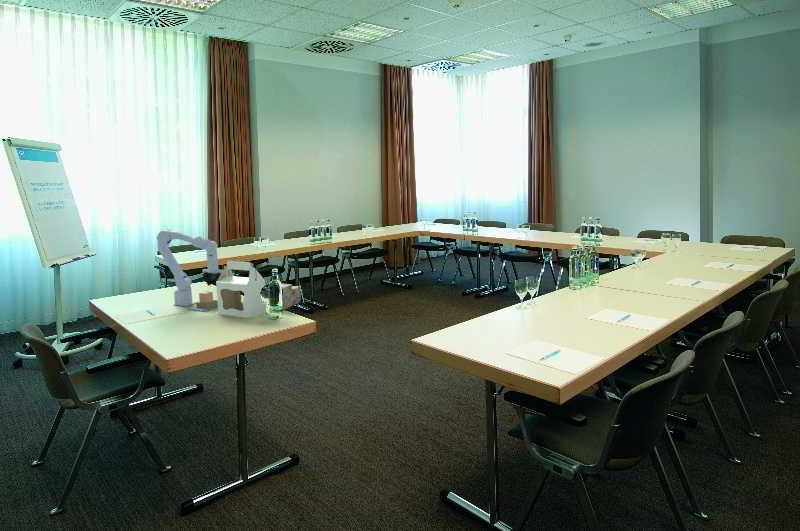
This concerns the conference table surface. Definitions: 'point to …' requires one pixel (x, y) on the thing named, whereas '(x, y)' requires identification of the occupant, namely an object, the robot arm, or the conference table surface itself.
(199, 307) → the plate
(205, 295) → the terracotta cube
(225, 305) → the gable box
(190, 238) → the robot arm
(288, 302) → the white printed box
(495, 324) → the conference table surface
